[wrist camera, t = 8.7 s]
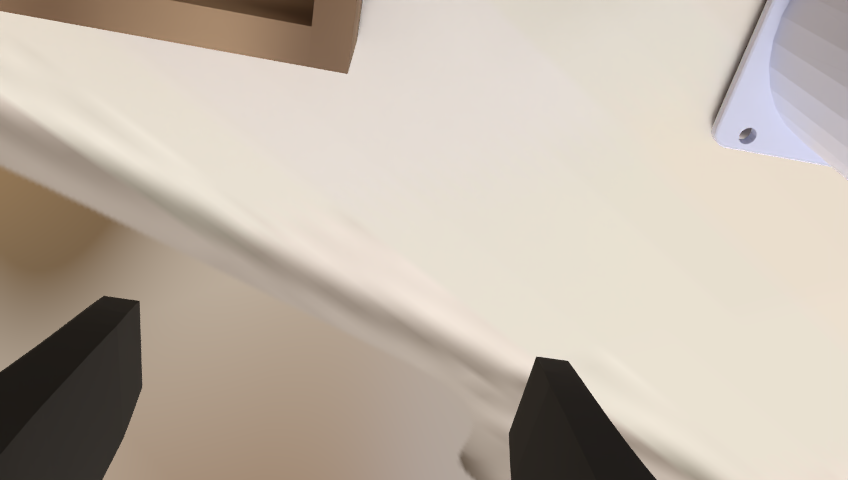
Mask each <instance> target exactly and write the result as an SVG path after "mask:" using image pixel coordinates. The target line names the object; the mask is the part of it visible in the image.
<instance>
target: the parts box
mask: <svg viewBox="0 0 848 480" xmlns="http://www.w3.org/2000/svg"><path fill="white" fill-rule="evenodd" d="M361 7H362V0H0V11H4V12H9V13H15V14H20V15H26V16H31V17H37V18H42V19H48V20H53V21H59V22H64V23H70V24H75V25H81V26H86V27H92V28H97V29H103V30H108V31H114V32H120V33H125V34H131V35H136V36H142V37H147V38H153V39H158V40H164V41H169V42H175V43H180V44H186V45H191V46H197V47H202V48H208V49H213V50H219V51H224V52H230V53H235V54H241V55H246V56H252V57H257V58H263V59H268V60H274V61H279V62H285V63H290V64H296V65H301V66H307V67H313V68H318V69H324V70H329V71H335V72H340V73H346V74H348V70H349V67H350V63H351V60H352V56H353V53H354V49H355V45H356V42H357V36H358V29H359V22H360V14H361Z"/></svg>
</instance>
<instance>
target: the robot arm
mask: <svg viewBox="0 0 848 480" xmlns="http://www.w3.org/2000/svg"><path fill="white" fill-rule="evenodd" d="M747 128H752V129H751V133H750V134H749V135H748V136H747V137H746V138H744V139H739V135H740V133H741V132H742V131H743V130H745V129H747ZM711 133H712V137H713V139H714V140H715V141H716V142H717V143H718V144H719V145H720V146H722V147H725V148H730V149H735V150H741V151H746V152H752V153H757V154H763V155H768V156H774V157H780V158H785V159H791V160H796V161H802V162H807V163H813V164H818V165H824V166H829V167H833V168H834V169H835V170H836V171H837V172H838V173H840V174H841V175H842V176H843V177H844V178H845V179H847V180H848V0H767V2H766V4H765V7H764V9H763V11H762V13H761V16H760V18H759V20H758V23H757V25H756V27H755V30H754V32H753V34H752V36H751V39H750V41H749V43H748V46H747V48H746V50H745V52H744V55H743V57H742V59H741V62H740V64H739V66H738V69H737V71H736V73H735V75H734V78H733V80H732V82H731V85H730V87H729V89H728V92H727V94H726V96H725V98H724V101H723V103H722V105H721V108H720V110H719V112H718V115H717V117H716V119H715V121H714V124H713V126H712V131H711ZM141 367H142V365H141V335H140V303H139V301H135V300H128V299H121V298H114V297H107V296H103V297H102V298H100V299H99V300H97V301H96V302H94V303H93V304H92V305H90V306H89V307H88V308H86V309H85V310H84V311H82V312H81V313H80V314H78V315H77V316H76V317H75V318H73V319H72V320H71V321H69V322H68V323H67V324H65V325H64V326H63V327H61V328H60V329H59V330H58V331H56V332H55V333H53V334H52V335H51V336H50V337H48V338H47V339H45V340H44V341H43V342H41V343H40V344H39V345H37V346H36V347H35V348H33V349H32V350H30V351H29V352H28V353H26V354H25V355H23V356H22V357H21V358H19V359H18V360H16V361H15V362H14V363H12V364H11V365H9V366H8V367H7V368H5V369H4V370H2V371H1V372H0V480H102V479H103V477H104V475H105V473H106V471H107V469H108V467H109V465H110V463H111V462H112V460H113V458H114V456H115V454H116V451H117V449H118V448H119V446H120V444H121V442H122V440H123V437H124V435H125V432H126V430H127V427H128V425H129V422H130V419H131V417H132V414H133V411H134V408H135V406H136V403H137V400H138V397H139V394H140V392H141V389H142V368H141ZM509 446H510V468H511V480H656V478H655V477H654V476H653V475H652V474H651V473H650V471H649V470H648V469H647V468H646V467H645V465H644V464H643V463H642V462H641V460H640V459H639V458H638V456H637V455H636V454H635V453H634V451H633V450H632V449H631V448H630V446H629V445H628V444H627V442H626V441H625V440H624V438H623V437H622V436H621V434H620V433H619V432H618V430H617V429H616V428H615V426H614V425H613V424H612V422H611V421H610V419H609V418H608V417H607V415H606V414H605V413H604V411H603V410H602V408H601V407H600V405H599V404H598V403H597V401H596V400H595V398H594V397H593V396H592V394H591V393H590V391H589V390H588V388H587V387H586V386H585V384H584V383H583V381H582V380H581V378H580V377H579V376H578V374H577V373H576V371H575V370H574V369H573V367H572V366H571V364H570V363H569V362H568V361H564V360H557V359H550V358H543V357H536V359H535V362H534V365H533V368H532V371H531V373H530V376H529V379H528V382H527V385H526V387H525V390H524V393H523V396H522V399H521V401H520V404H519V407H518V410H517V412H516V415H515V418H514V421H513V424H512V426H511V429H510V432H509Z"/></svg>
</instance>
